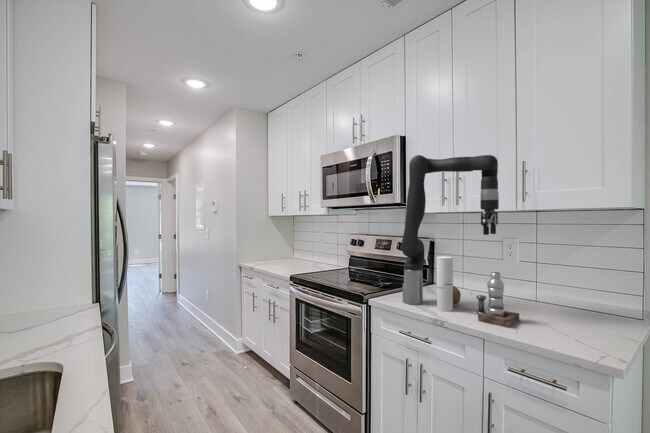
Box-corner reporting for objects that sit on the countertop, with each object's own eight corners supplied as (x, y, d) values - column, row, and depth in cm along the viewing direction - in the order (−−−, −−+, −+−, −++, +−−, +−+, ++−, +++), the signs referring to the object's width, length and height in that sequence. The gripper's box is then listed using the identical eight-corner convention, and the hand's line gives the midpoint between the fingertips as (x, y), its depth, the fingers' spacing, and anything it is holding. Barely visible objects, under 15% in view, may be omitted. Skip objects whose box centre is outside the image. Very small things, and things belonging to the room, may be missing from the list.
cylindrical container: (454, 311, 152) (453, 258, 152) (438, 311, 153) (437, 257, 153) (451, 307, 159) (451, 256, 159) (436, 307, 160) (435, 256, 160)
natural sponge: (444, 302, 169) (444, 282, 169) (462, 304, 164) (462, 284, 164) (439, 306, 162) (439, 286, 162) (458, 308, 157) (458, 288, 157)
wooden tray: (478, 320, 139) (478, 313, 139) (489, 314, 148) (489, 307, 148) (509, 327, 130) (509, 320, 130) (519, 320, 139) (519, 313, 139)
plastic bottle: (497, 322, 136) (497, 274, 136) (484, 317, 142) (483, 272, 142) (508, 320, 138) (508, 273, 138) (494, 316, 145) (494, 270, 145)
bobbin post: (475, 313, 149) (475, 296, 149) (478, 312, 151) (478, 294, 151) (484, 315, 146) (484, 297, 146) (487, 313, 149) (487, 296, 149)
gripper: (486, 200, 158) (487, 233, 158) (474, 199, 149) (475, 234, 149) (503, 199, 153) (503, 234, 153) (492, 198, 143) (492, 235, 143)
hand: (489, 234), depth 151 cm, fingers open, 8 cm apart
